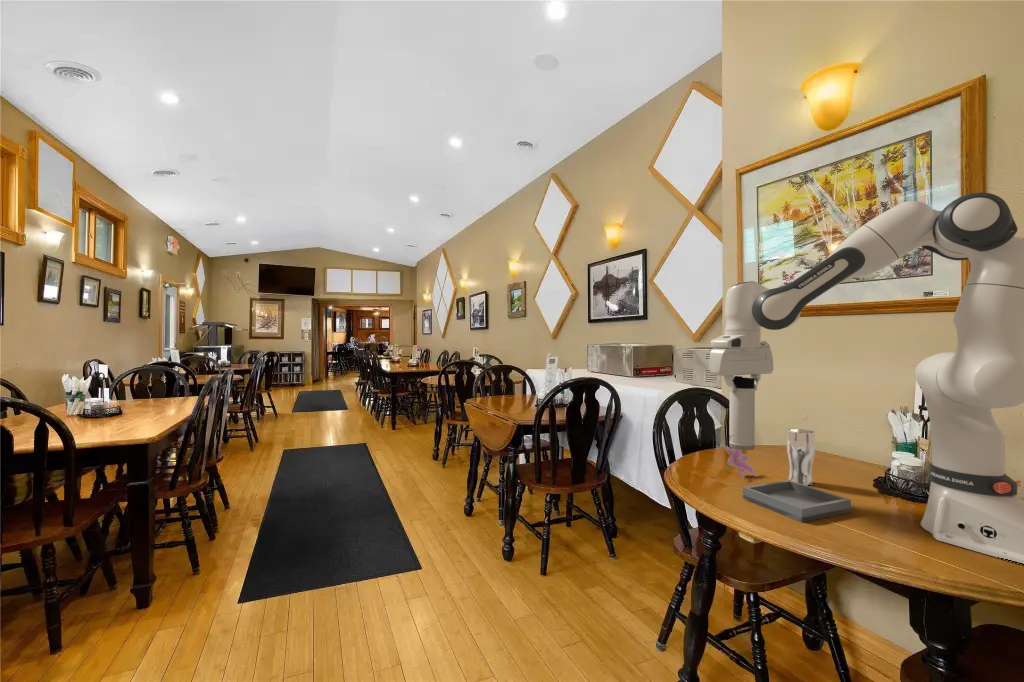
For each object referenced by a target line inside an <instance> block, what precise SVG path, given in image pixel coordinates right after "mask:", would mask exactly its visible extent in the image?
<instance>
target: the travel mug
mask: <svg viewBox="0 0 1024 682" xmlns="http://www.w3.org/2000/svg"><path fill="white" fill-rule="evenodd" d="M732 380H733V383H734V385H736V386H737V388H736V389H737V391H736V392H729V407H728V408H729V412H728V413H729V422H728V423H729V425H728V426H729V429H728V430H729V432H728V433H729V434H728V435H729V436H728V438H729V442H728V443H729V444H728V445H729V446H728V447H729V448H730V449H733V448H734V449H739V450H741V451H753V450H755V441H756V440H755V439H756V438H755V433H756V431H755V430H756V429H755V424H756V423H755V420H756V419H755V416H756V413H755V411H756V410H755V409H756V407H755V406H756V403H755V402H756V401H755V400H756V399H755V397H756V394H755V393H756V391H754V390H755V386H754V385H755V379H754V378H751V377H743V375H734V379H732Z"/></svg>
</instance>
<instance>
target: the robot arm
mask: <svg viewBox="0 0 1024 682" xmlns="http://www.w3.org/2000/svg"><path fill="white" fill-rule="evenodd" d="M1016 233H1018V226H1017V224H1016V222H1015V220H1014V217H1013V214H1012V211H1011V209H1010V206H1009V205H1008V203H1007V202H1006V201H1005V200H1004V199H1003V198H1002V197H1000V196H998V195H996V194H993V193H989V192H974V193H973V192H971V193H968V194H964V195H962V196H960V197H958V198H956V199H954V200H952V201H951V202H949V203H948V204H946V206H945V207H944V208H943V209H942V210H938V209H937V210H936V209H935V208H934V209H933V208H932V207H931V206H930V205H928V204H927V203H924V202H923V201H918V200H907V201H903V202H901V203H898V204H897V205H894V206H892V207H890V208H888V210H885V211H883V212H882V213H880V214H878V215H877V216H875V217H874V218H872V219H869V221H867V222H866V223H864V224H863V225H862V226H860V227H859V228H858V229H856V230H855V231H853V232H852V233H851V234H850V235H848V237H846V238H845V239H844V240H842V242H841V243H840V244H838V246H837V247H836V248H835V249H834V250H833V251H832V252H831V253H830V254H829V255H828V256H827V257H826V258H825V259H824V260H822V261H820V262H819V263H818V264H817V265H815V266H814V267H812V268H810V269H809V270H808V271H806V272H804V274H802V275H800V276H798V277H797V278H796V279H794V280H792V281H791V282H789V283H787V284H786V285H783V286H779V287H774V288H769V287H766V286H764V285H762V284H760V283H758V282H757V281H754V280H752V281H751V280H750V281H744V282H743V281H742V282H739V283H735V284H733V285H732V286H730V287H729V288H728V289H727V291H726V294H725V301H724V317H725V320H726V323H725V328H724V334H722V335H720V336H717V337H716V338H713V339H711V341H710V348H712V349H711V350H710V354H709V371H710V373H711V375H712V376H719V377H721V376H723V380H724V382H725V385H726V386H727V387H726V388H727V390H726V391H727V392H729V393H730V392H736V391H737V389H736V388H737V386H736V385H734V383H733V380H732V379H734V377H735V376H745V375H746V376H747V375H748V376H749V375H750V378H754V379H755V385H754V386H755V390H754V391H755V392H756V391H757V390H758V385H759V381H760V380H761V378H762V377H761V375H771V374H772V373H773V371H774V359H773V358H774V357H773V353H772V350H771V345H769V343H768V342H767V341H765V340H761V334H762V333H761V328H764V329H766V330H770V331H771V330H772V331H777V330H782V329H786V328H790V327H792V326H793V325H794V324H796V322H797V321H798V320H799V318H800V316H801V314H802V310H803V309H804V308H805V307H806V306H808V304H809V303H811V302H812V301H814V300H815V299H817V298H819V297H821V296H822V295H824V294H825V293H826V292H828V291H829V290H831V289H833V288H835V287H836V286H838V285H839V284H841V283H844V282H846V281H848V280H852V279H856V278H862V277H867V276H870V275H871V274H875V273H876V272H878V271H881V270H882V269H884V268H887V267H888V266H890V265H892V264H893V263H894V262H895V263H896V261H898V260H900V259H901V258H902V257H904V256H906V255H907V254H908V253H910V252H912V251H914V250H915V249H918V248H919V247H922V248H923V249H924V250H927V251H929V252H932V253H933V254H936V255H938V256H940V257H941V258H942V257H943V258H945V259H948V260H951V261H967V260H969V263H970V269H969V270H970V271H969V275H968V278H967V280H966V282H965V285H964V288H963V291H962V293H961V296H960V299H959V301H958V303H957V307H956V309H955V313H954V314H953V315H954V316H953V319H952V320H953V321H952V323H953V325H954V327H955V329H956V335H957V336H956V350H955V352H954V351H946V352H940V353H935V354H933V355H930V356H927V357H925V358H924V359H922V360H921V361H920V362H919V363H918V364H917V366H916V367H915V372H914V378H915V381H916V384H917V385H918V386H919V387H920V389H921V391H922V394H923V397H924V401H925V406H926V409H927V413H928V417H929V423H930V428H931V462H930V463H928V473H927V474H928V477H927V478H928V482H927V483H928V487H929V493H928V500H927V503H926V508H925V512H924V514H923V516H922V519H921V522H920V524H919V525H920V526H921V527H922V528H923V529H924V530H925V531H927V532H929V534H931V535H932V536H933V538H934V539H935V540H936V541H938V542H944V543H947V544H950V545H954V546H956V547H960V548H964V549H967V550H971V551H974V552H977V553H981V554H984V555H988V556H990V557H991V556H992V557H993V558H998V557H999V558H998V559H1001V558H1004V559H1003V560H1005V559H1008V560H1012V561H1017V562H1020V563H1023V564H1024V499H1022V498H1021V497H1020V496H1019V495H1018V487H1021V486H1022V485H1021V482H1022V480H1013V479H1012V478H1011V477H1010V476H1008V475H1007V473H1006V472H1005V463H1006V461H1005V460H1006V459H1005V458H1006V437H1005V435H1004V433H1003V431H1002V430H1001V429H1000V428H999V426H998V424H997V422H996V420H995V418H994V415H993V413H992V410H991V409H1005V408H1007V409H1008V408H1014V407H1018V406H1020V405H1022V404H1024V237H1022V236H1021V237H1020V236H1015V235H1016ZM1008 560H1007V561H1008ZM1012 561H1011V562H1012Z"/></svg>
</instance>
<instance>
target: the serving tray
mask: <svg viewBox="0 0 1024 682" xmlns="http://www.w3.org/2000/svg"><path fill="white" fill-rule="evenodd" d="M743 498H744V499H743ZM742 499H743V500H745V499H746V500H745V501H748V500H749V501H748V502H750V501H751V502H750V503H753V504H755V503H756V504H755V505H758V506H760V507H762V508H765V509H768V510H771V511H773V512H775V513H778V514H781V515H784V516H785V517H788V518H791V519H793V520H796V521H798V522H800V523H804V522H805V523H806V522H809V521H814V520H817V519H819V520H820V519H823V518H828V517H832V516H839V515H842V514H843V515H844V514H847V513H852V499H850V498H847V497H844V496H841V495H839V494H835V493H832V492H828V491H825V490H822V489H819V488H815V487H812V486H811V485H810V486H807V485H803V484H800V483H797V482H794V481H791V480H788V479H787V480H786V479H785V480H780V481H773V482H767V483H760V484H754V485H748V486H742Z"/></svg>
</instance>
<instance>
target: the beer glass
mask: <svg viewBox="0 0 1024 682" xmlns="http://www.w3.org/2000/svg"><path fill="white" fill-rule="evenodd" d="M786 435H787V437H786V452H787V457H788V462H789V473H788V478H787V480H791V481H794V482H797V483H800V484H803V485H810V486H813V485H814V482H813V476H812V467H813V463H814V459H815V454H816V438H815V431H814V430H811V429H803V428H788V429H787V434H786Z"/></svg>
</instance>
